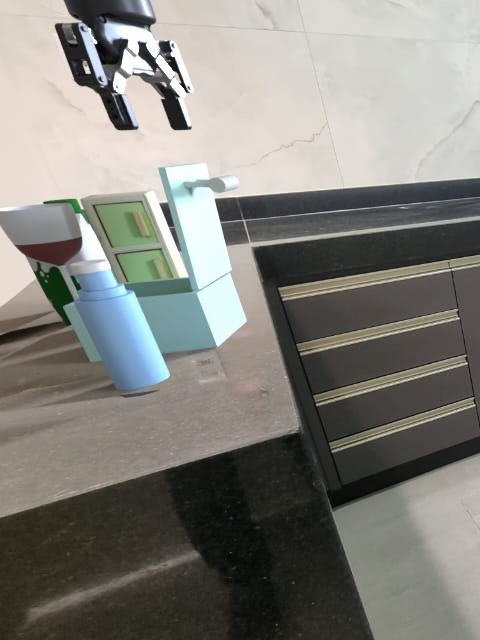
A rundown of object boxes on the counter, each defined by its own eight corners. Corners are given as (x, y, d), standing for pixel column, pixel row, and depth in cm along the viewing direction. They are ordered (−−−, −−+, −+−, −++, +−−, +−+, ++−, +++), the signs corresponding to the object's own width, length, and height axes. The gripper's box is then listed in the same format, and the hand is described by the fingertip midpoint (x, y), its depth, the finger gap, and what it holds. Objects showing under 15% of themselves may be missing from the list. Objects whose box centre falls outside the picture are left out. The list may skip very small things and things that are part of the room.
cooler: (93, 368, 73) (62, 306, 69) (139, 338, 83) (115, 283, 79) (219, 352, 76) (196, 293, 73) (249, 326, 87) (230, 272, 83)
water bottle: (109, 400, 64) (44, 270, 57) (133, 382, 68) (75, 259, 62) (160, 393, 65) (102, 265, 58) (180, 375, 69) (128, 255, 63)
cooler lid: (157, 167, 66) (210, 169, 68) (199, 162, 77) (244, 164, 79) (192, 290, 72) (239, 289, 74) (226, 270, 83) (267, 269, 85)
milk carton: (131, 317, 93) (78, 200, 85) (59, 330, 88) (-5, 207, 80) (130, 307, 99) (80, 196, 91) (62, 319, 94) (3, 203, 86)
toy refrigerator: (136, 331, 86) (77, 198, 78) (145, 319, 92) (91, 194, 84) (197, 321, 90) (146, 193, 82) (202, 310, 96) (155, 190, 87)
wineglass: (43, 344, 82) (-27, 212, 74) (84, 325, 90) (25, 204, 82) (102, 338, 84) (40, 209, 75) (138, 321, 91) (85, 201, 83)
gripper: (72, -49, 52) (141, 129, 59) (179, -14, 65) (226, 128, 72) (-6, -46, 52) (72, 132, 59) (117, -12, 65) (170, 131, 72)
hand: (157, 130), depth 65 cm, fingers open, 8 cm apart
